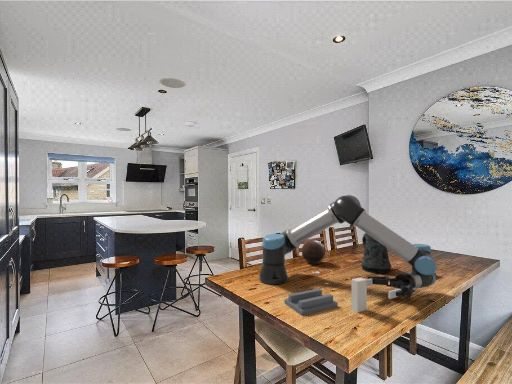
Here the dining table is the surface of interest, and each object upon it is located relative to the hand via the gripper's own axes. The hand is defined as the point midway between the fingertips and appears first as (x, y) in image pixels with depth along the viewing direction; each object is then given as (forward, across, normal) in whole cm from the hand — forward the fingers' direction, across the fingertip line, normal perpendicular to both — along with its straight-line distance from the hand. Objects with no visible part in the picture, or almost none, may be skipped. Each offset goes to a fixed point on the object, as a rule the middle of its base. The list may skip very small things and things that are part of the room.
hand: (374, 289), depth 109 cm
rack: (+23, +12, -7) cm, 27 cm away
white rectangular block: (+8, 0, -7) cm, 11 cm away
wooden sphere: (-20, +64, -7) cm, 67 cm away
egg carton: (-60, +14, -7) cm, 62 cm away
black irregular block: (-43, +36, -7) cm, 57 cm away
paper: (-5, +42, -8) cm, 43 cm away
